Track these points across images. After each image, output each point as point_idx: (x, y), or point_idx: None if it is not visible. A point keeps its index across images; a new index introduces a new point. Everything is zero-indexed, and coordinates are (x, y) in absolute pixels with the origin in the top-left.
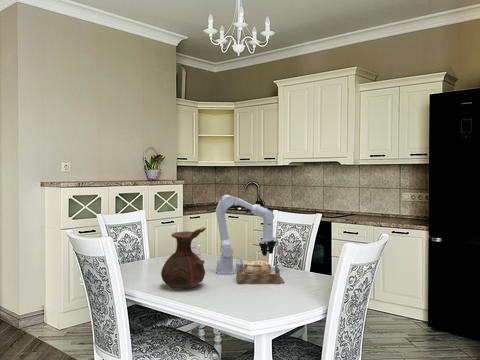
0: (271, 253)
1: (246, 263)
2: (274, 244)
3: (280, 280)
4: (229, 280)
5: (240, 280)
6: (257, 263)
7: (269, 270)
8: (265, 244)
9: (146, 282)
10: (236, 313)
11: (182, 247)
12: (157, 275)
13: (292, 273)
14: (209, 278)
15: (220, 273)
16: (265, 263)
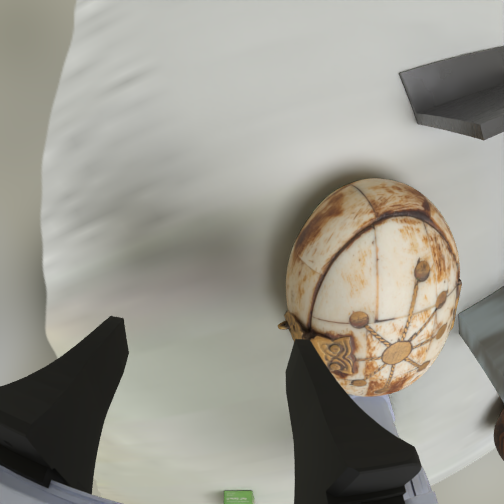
0: (123, 326)
1: (415, 380)
2: (41, 397)
3: (487, 71)
4: None
5: None
6: (448, 313)
7: (413, 188)
8: (414, 475)
9: (481, 448)
10: None
11: None
12: None
13: (203, 22)
14: (460, 398)
15: (393, 413)
16: (430, 255)
